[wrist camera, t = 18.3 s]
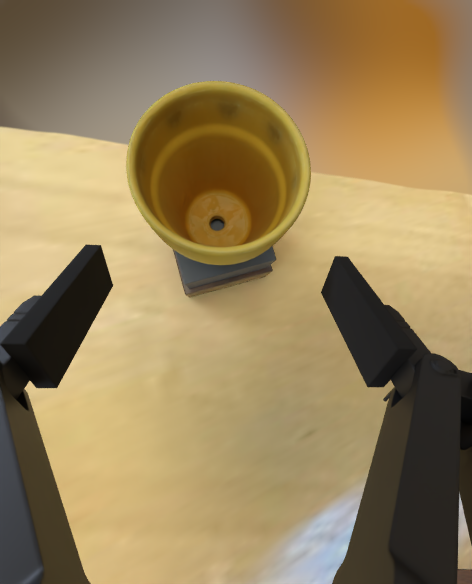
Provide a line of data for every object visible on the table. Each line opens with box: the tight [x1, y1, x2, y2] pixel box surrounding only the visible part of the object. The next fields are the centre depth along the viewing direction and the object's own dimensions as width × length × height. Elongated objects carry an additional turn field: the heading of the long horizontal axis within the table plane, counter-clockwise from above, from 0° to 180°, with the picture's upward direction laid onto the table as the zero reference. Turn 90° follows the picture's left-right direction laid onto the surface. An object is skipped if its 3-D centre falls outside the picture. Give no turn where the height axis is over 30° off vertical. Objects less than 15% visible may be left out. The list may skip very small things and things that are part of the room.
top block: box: [175, 219, 276, 289], centre depth 25 cm, size 9×9×4 cm
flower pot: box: [126, 81, 311, 265], centre depth 18 cm, size 10×10×10 cm
